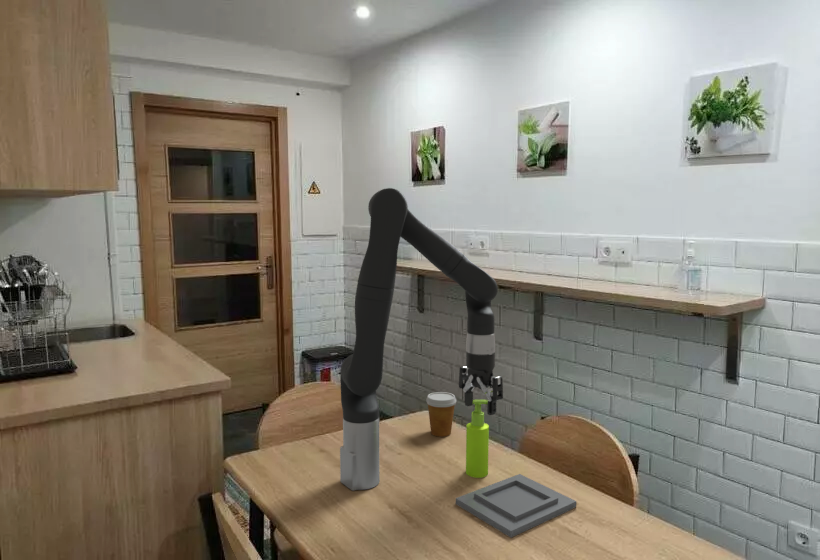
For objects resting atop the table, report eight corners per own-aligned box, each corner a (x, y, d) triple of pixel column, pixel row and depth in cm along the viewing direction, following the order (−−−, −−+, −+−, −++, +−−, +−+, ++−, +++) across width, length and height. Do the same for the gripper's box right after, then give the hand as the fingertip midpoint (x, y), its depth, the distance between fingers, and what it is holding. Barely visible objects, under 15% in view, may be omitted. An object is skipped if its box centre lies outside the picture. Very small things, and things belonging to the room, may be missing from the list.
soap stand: (510, 537, 125) (511, 526, 125) (455, 504, 139) (455, 494, 139) (576, 507, 138) (576, 497, 138) (519, 479, 152) (519, 470, 152)
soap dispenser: (491, 479, 152) (492, 404, 150) (464, 476, 154) (465, 403, 152) (492, 469, 158) (494, 397, 156) (467, 467, 160) (468, 396, 157)
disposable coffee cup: (460, 430, 187) (460, 393, 185) (449, 440, 178) (450, 402, 177) (432, 425, 191) (433, 390, 189) (421, 435, 182) (421, 398, 181)
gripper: (451, 346, 156) (451, 405, 158) (489, 357, 144) (488, 420, 146) (472, 342, 160) (472, 400, 162) (510, 352, 149) (509, 414, 151)
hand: (480, 409), depth 154 cm, fingers open, 8 cm apart
